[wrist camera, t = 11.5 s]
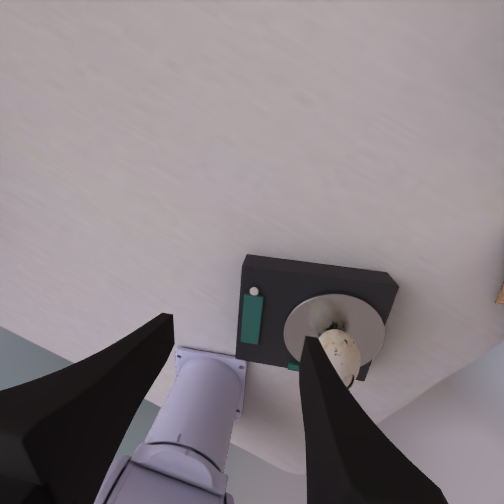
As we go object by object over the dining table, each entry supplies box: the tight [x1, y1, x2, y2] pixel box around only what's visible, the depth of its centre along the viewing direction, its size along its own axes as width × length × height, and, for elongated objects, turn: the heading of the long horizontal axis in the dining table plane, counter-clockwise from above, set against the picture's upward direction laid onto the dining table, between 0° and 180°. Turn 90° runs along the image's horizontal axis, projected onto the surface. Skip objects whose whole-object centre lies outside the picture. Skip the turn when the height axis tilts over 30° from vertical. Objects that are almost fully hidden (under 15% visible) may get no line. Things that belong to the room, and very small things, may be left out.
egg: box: [319, 329, 361, 390], centre depth 17 cm, size 3×3×5 cm
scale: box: [235, 254, 399, 381], centre depth 21 cm, size 10×12×3 cm
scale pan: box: [283, 291, 385, 367], centre depth 20 cm, size 8×8×1 cm
